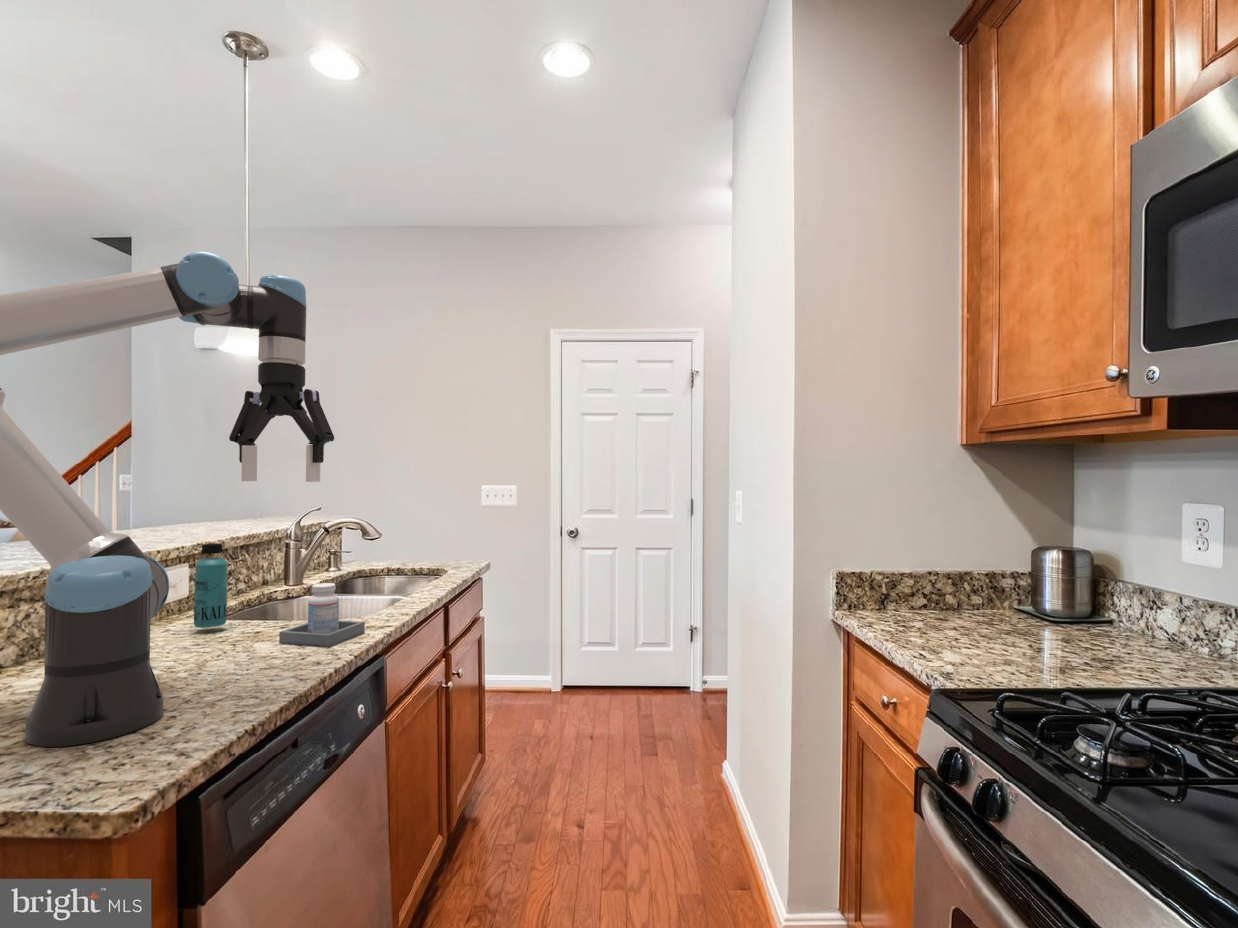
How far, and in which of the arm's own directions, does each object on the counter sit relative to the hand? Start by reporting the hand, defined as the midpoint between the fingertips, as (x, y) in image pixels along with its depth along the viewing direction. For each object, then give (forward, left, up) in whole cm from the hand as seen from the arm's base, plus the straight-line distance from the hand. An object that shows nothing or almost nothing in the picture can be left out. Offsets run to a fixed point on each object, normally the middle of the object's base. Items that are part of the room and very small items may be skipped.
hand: (280, 481), depth 112 cm
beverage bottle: (+22, +38, -35) cm, 56 cm away
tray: (+23, +9, -35) cm, 43 cm away
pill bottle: (+23, +9, -34) cm, 42 cm away
